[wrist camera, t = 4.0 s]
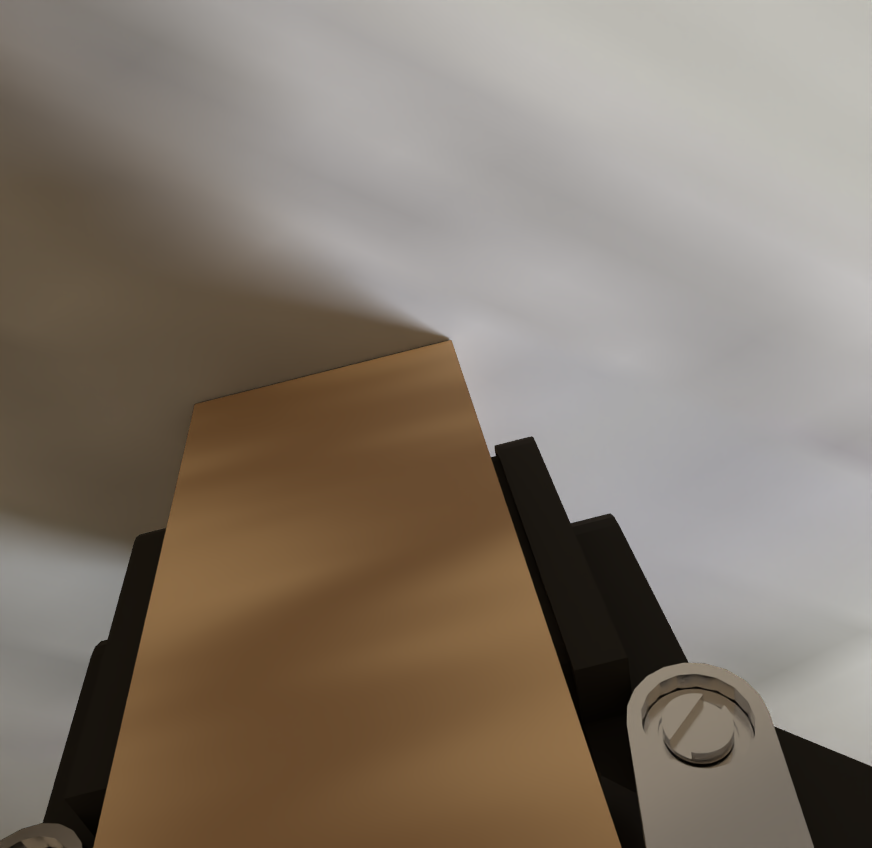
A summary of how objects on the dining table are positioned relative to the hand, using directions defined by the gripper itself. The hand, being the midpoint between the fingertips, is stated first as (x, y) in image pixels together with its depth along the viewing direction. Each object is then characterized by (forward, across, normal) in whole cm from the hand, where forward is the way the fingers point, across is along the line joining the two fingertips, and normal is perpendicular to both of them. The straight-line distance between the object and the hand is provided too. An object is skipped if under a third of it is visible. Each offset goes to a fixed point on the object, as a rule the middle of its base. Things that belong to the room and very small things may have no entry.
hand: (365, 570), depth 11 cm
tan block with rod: (+2, 0, +6) cm, 7 cm away
